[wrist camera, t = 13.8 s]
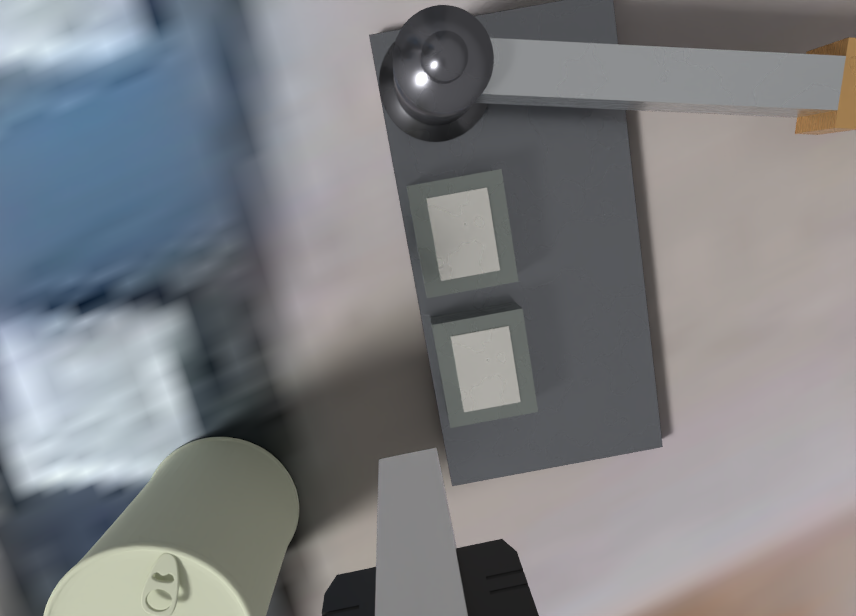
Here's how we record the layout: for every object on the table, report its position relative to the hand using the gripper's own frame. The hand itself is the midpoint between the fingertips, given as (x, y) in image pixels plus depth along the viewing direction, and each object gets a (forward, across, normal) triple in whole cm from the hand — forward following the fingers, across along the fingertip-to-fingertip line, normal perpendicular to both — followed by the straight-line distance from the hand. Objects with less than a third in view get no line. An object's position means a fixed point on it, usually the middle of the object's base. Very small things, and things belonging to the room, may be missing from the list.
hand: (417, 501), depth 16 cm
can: (+21, -13, -10) cm, 26 cm away
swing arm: (+20, +13, +10) cm, 26 cm away
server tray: (+21, +8, +2) cm, 22 cm away
